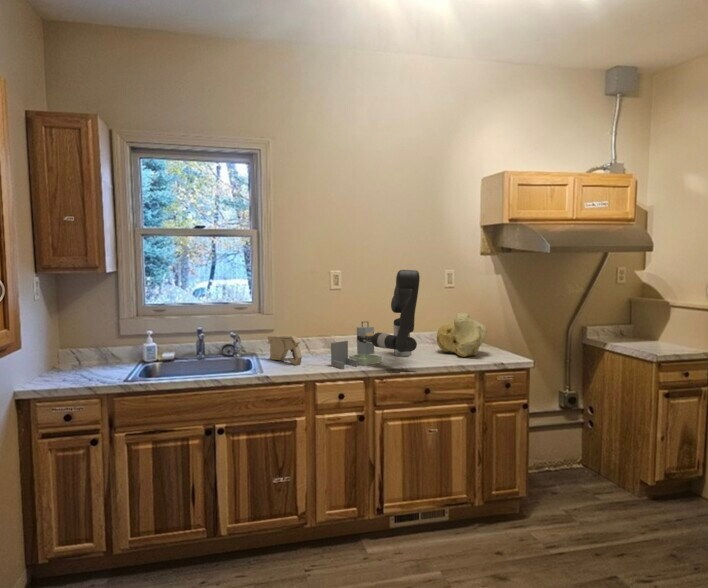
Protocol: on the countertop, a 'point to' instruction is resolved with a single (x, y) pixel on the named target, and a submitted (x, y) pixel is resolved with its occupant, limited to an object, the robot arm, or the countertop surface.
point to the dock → (341, 355)
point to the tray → (366, 358)
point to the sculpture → (461, 335)
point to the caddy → (367, 331)
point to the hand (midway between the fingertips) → (362, 337)
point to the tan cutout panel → (284, 348)
